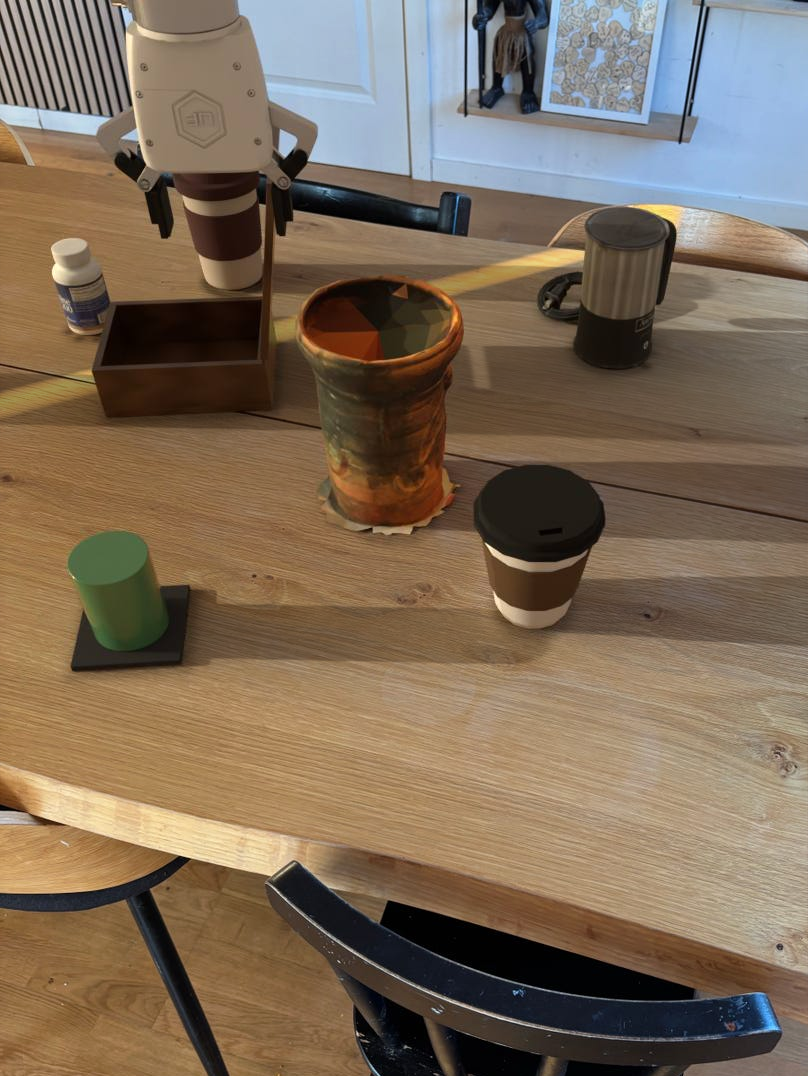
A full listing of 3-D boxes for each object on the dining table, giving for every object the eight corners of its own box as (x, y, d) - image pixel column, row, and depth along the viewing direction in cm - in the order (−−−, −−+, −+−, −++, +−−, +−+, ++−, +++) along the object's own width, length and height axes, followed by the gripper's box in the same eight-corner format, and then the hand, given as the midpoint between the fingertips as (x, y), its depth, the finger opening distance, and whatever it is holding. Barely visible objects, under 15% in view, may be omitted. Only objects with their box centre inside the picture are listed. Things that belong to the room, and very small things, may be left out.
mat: (72, 671, 85) (69, 666, 85) (88, 594, 91) (87, 590, 90) (181, 664, 86) (179, 659, 85) (190, 588, 92) (189, 584, 91)
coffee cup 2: (608, 640, 88) (624, 538, 79) (485, 658, 87) (488, 556, 78) (574, 554, 95) (586, 452, 86) (460, 570, 94) (460, 468, 85)
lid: (266, 183, 92) (275, 184, 92) (272, 122, 101) (280, 123, 101) (260, 359, 105) (267, 360, 105) (265, 291, 114) (272, 292, 114)
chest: (105, 417, 108) (91, 370, 104) (122, 347, 117) (110, 301, 113) (272, 410, 110) (264, 363, 105) (276, 341, 119) (269, 295, 114)
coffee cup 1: (221, 305, 124) (197, 182, 112) (179, 274, 129) (153, 153, 117) (289, 279, 128) (273, 158, 117) (246, 249, 133) (227, 130, 122)
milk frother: (638, 378, 115) (657, 254, 104) (508, 347, 118) (513, 224, 107) (670, 316, 124) (691, 196, 113) (548, 290, 127) (557, 170, 116)
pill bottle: (66, 317, 121) (41, 239, 114) (111, 308, 123) (89, 231, 116) (72, 340, 118) (47, 261, 111) (119, 331, 120) (97, 252, 112)
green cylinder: (88, 654, 85) (60, 587, 80) (99, 599, 90) (73, 532, 84) (165, 649, 86) (143, 582, 80) (173, 595, 90) (152, 528, 84)
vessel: (436, 558, 95) (431, 374, 80) (294, 526, 97) (264, 343, 82) (480, 465, 104) (484, 285, 89) (350, 439, 107) (333, 259, 92)
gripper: (53, 21, 71) (115, 254, 84) (303, 19, 72) (326, 249, 85) (73, -14, 76) (128, 211, 88) (307, -15, 77) (328, 208, 90)
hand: (225, 230), depth 87 cm, fingers open, 9 cm apart
